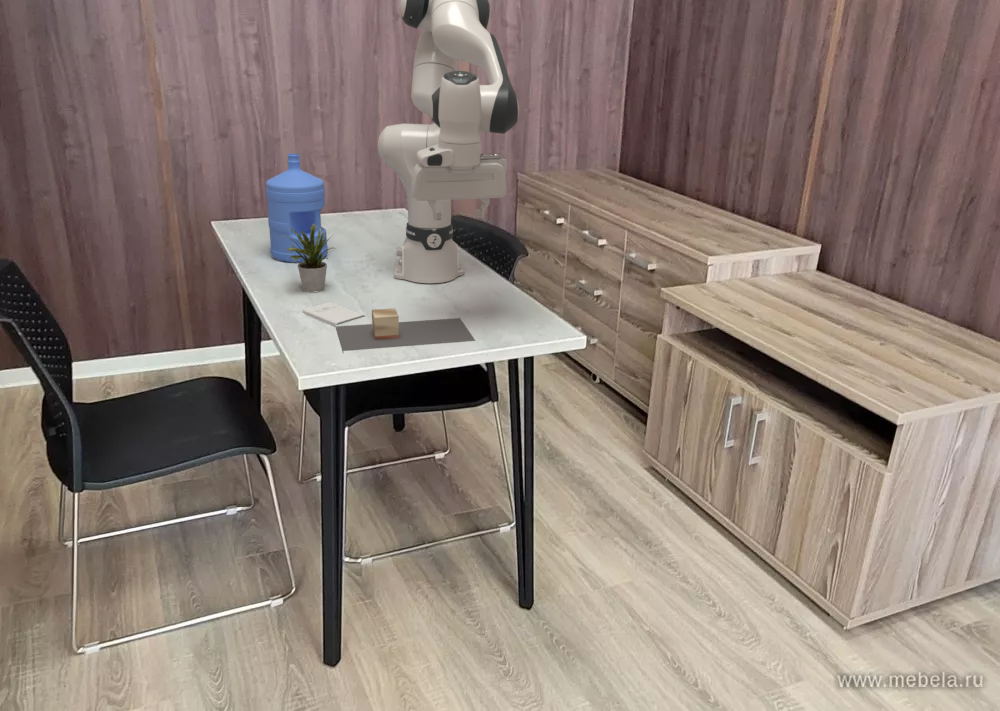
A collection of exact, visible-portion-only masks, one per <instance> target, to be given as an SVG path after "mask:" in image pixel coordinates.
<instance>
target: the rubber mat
mask: <svg viewBox="0 0 1000 711" xmlns="http://www.w3.org/2000/svg"><path fill="white" fill-rule="evenodd" d="M335 330H336V333H337V337H338V340H339V344H340V347H341V351H342V354H345V353H344V352H345V351H346V352H347V351H357V350H358V351H359V350H361V351H362V350H373V349H384V348H385V349H387V348H397V347H398V348H399V347H400V348H402V347H411V346H412V347H413V346H424V345H425V346H426V345H438V344H439V345H440V344H451V343H463V342H465V343H466V342H476V339H475V338H474V335H472V333H471V332H470V330H469V329H468V327H467V326H466V325H465V323H464V322H463V320H462V318H461V317H455V318H441V319H428V320H427V319H424V320H413V321H412V320H410V321H399V338H395V339H381V340H375V337H374V335H373V332H372V323H367V324H354V325H353V324H352V325H339V326H338V325H336V327H335Z"/></svg>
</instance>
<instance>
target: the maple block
mask: <svg viewBox="0 0 1000 711" xmlns="http://www.w3.org/2000/svg"><path fill="white" fill-rule="evenodd" d="M397 312H398V311H397V310H396V308H393V307H391V308H380V309H376V308H375V309H371V324H372V332H373V335H374V337H375V340H381V339H395V338H399V322H400V321H399V320H400V318H399V315H398V313H397Z"/></svg>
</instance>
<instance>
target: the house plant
mask: <svg viewBox="0 0 1000 711" xmlns="http://www.w3.org/2000/svg"><path fill="white" fill-rule="evenodd" d="M316 227H317V226H316ZM316 227H315V224H314V223H313V224H312V227H311V232H310V241H309V239H308V237H307V236H306V234H305V233H304V232H303V231H302V235H303V238H304V240H303V239H302V237H301V236H300V235H299V234H298V233H296V232H295V231H294V230H292V229H290V230H292V231H293V232H294V233H295V234H296V236H297V237H298V239H299V240H300V241H301V243H302V245H303V246H304V247H303V246H302V247H303V248H304V249H305V250H304V249H301V248H300V246H299V245H298V244H297V243H296V242H295V241H294V242H295V243H296V244H297V245H298V247H299V248H300V249H298V248H295V247H294V246H292V245H290V246H292V247H293V248H289V249H287V250H290V251H296V252H297V253H298V254H299V256H297V255H296V254H295V255H293V256H291V257H290V259H291V258H294V257H295V258H294V261H295V260H297V259H299V258H300V257H301V258H303V259H304V260H305V261H304V260H303V261H304V262H300V263H298V265H297V268H298V272H299V278H300V282H301V285H302V290H303V289H304V290H305V291H304V290H303V291H304V292H307V291H309V292H308V293H314V292H313V291H319V292H321V291H320V290H322V291H324V290H325V286H326V275H327V266H328V264H327V263H326V262H325V261H323V260H325V259H326V260H328V259H329V257H324V258H322V255H323V253H324V252H326V251H327V250H328V251H329V250H332V249H333V250H334V249H337V248H335V247H330V248H328V249H327V250H326V251H324V252H323V253H320V252H321V250H322V248H323V246H324V245H325V243H326V242H328V241H329V240H330V239H331V238H332V236H334V234H332V235H330V237H328V238H327V241H326V242H325V240H326V239H324V240H323V236H324V231H323V233H322V235H321V227H322V226H321V227H320V230H319V233H318V238H317V242H316V245H315V244H314V234H315V229H316ZM284 228H285V227H284ZM288 229H289V228H288ZM320 235H321V238H320ZM299 236H300V237H299ZM285 237H288V236H285ZM290 238H291V237H290ZM319 239H320V241H319ZM290 240H291V239H290ZM322 240H323V241H322ZM292 241H293V240H292ZM296 241H297V240H296ZM297 242H298V241H297ZM324 242H325V243H324ZM298 243H299V242H298ZM318 243H319V244H318ZM323 244H324V245H323ZM290 251H289V252H290ZM299 252H300V253H301V254H303V253H304V254H303V255H304V256H302V255H301V254H300V253H299ZM305 254H306V255H307V256H308V257H309V258H307V256H306V255H305ZM318 256H319V257H318ZM304 257H305V258H304ZM301 258H300V259H301ZM317 259H318V260H317ZM323 289H324V290H323ZM311 291H312V292H311Z"/></svg>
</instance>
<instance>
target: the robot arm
mask: <svg viewBox="0 0 1000 711" xmlns="http://www.w3.org/2000/svg"><path fill="white" fill-rule="evenodd" d="M399 8H400V9H399V10H400V13H401V19H402V21H403V22H404V24H406V25H407V26H408V27H411V28H413V29H416V30H417V29H421V30H423V32H422V33H420V35H419V39H418V41H417V44H416V48H415V54H414V58H413V59H414V60H413V68H412V82H411V94H410V98H411V100H412V101H411V102H412V103H413V106H415V108H417V109H418V110H419V111H420V112H422V113H423V114H425V115H428V117H430V118H431V122H433V123H430V124H428V123H427V124H425V123H424V124H423V123H398V124H392V125H387V126H385V127H384V128H383V129H382V130H381V132H380V134H379V135H378V136H379V137H378V140H377V150H378V154H379V157H380V158H381V160H382V161H383V163H384V164H385V165H387V166H388V167H389V168H390V169H391V170H392V171H393V172H394V173H395V174H396V175H397V177H398V178H399V179H400V181H401V184H402V185H403V187H404V190H405V195H406V203H407V223H406V226H405V236H406V238H405V239H404V242H403V244H402V247H396V257H397V258H396V259H395V263H394V272H393V277H394V279H401V280H406V281H409V282H414V283H418V284H419V283H420V284H441V283H442V284H443V283H445V282H446V283H447V282H450V281H453V280H454V279H456V278H457V277H462V276H463V275H465V270H464V269H463V268H461V267H459V246H458V244H457V243H456V242H455V241H454V240H453V239H452V238H453V232H454V229H453V223H452V200H456V201H457V200H475V199H476V200H478V199H479V200H481V202H482V203H481V206H480V208H476V209H475V213H476V214H475V217H476V218H475V219H477V220H478V219H479V220H481V219H485V212H486V210H487V208H488V207H489V206H490V203H491V201H490V200H491V199H503V198H504V196H506V195H507V179H506V172H507V170H508V160H507V158H506V157H505V155H502V154H501V153H482V138H481V134H480V132H483V133H485V132H486V133H487V132H489V133H494V134H502V135H504V134H505V133H507V132H509V131H511V129H513V128H514V126H515V125H517V122H518V119H519V114H520V113H519V112H520V106H519V100H518V98H517V95H516V94H517V92H516V91H515V88H514V86H513V85H512V83H511V80H510V77H509V74H508V70H507V67H506V63H505V60H504V58H503V54H502V52H501V48H500V46H499V43H498V40H497V38H496V36H495V35H494V34H493V33H491V32H490V31H488V30H487V29H488V27H489V24H490V21H491V6H490V2H489V0H400V2H399ZM458 61H460V62H465V63H468V64H472V65H474V66H477V67H479V68H480V69H482V70H483V71H484V73H485V74H486V78H487V83H488V84H480V79H479V78H480V77H478V76H477V74H475V73H473V72H469V71H467V70H458ZM398 257H399V258H398Z"/></svg>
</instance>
